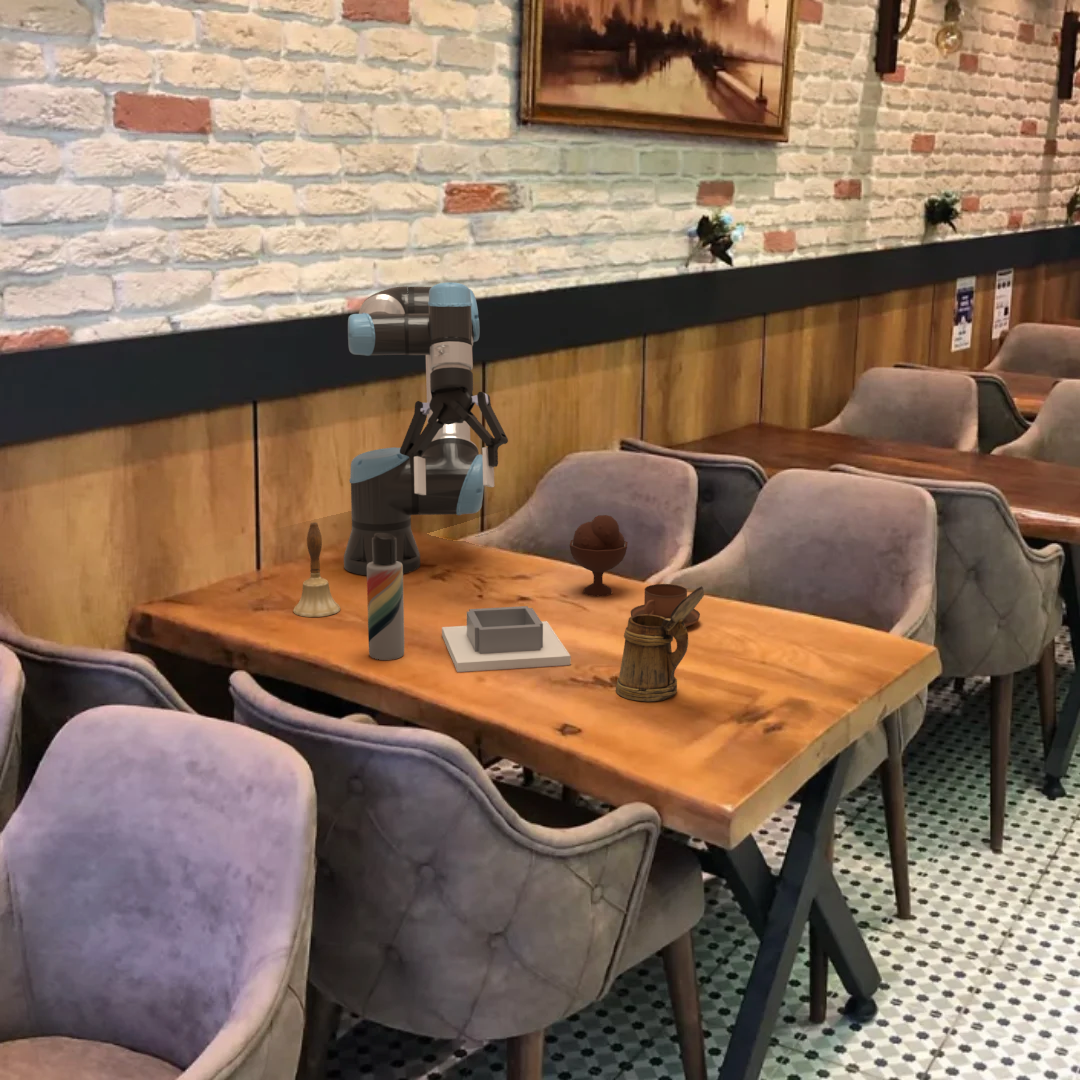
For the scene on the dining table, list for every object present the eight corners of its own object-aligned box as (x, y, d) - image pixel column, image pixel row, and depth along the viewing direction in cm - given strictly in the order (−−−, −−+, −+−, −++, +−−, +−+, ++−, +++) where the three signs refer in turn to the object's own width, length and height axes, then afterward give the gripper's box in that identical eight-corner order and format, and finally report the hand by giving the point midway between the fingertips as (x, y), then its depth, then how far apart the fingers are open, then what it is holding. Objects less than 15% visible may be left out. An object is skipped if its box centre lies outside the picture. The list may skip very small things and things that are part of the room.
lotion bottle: (371, 648, 214) (368, 529, 209) (406, 649, 214) (404, 530, 209) (366, 660, 209) (363, 538, 204) (402, 661, 209) (399, 539, 204)
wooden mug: (681, 714, 188) (686, 593, 184) (604, 693, 196) (606, 576, 192) (713, 696, 195) (718, 579, 190) (637, 676, 203) (640, 564, 198)
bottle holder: (441, 635, 221) (441, 604, 220) (546, 629, 225) (547, 598, 223) (457, 672, 204) (457, 638, 203) (570, 664, 208) (570, 631, 206)
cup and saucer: (690, 638, 222) (691, 603, 220) (621, 629, 226) (622, 595, 224) (706, 617, 232) (707, 584, 231) (641, 610, 236) (642, 577, 235)
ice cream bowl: (627, 584, 251) (629, 508, 248) (625, 602, 241) (627, 522, 237) (571, 582, 252) (572, 506, 249) (567, 599, 242) (568, 520, 238)
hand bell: (286, 607, 236) (283, 521, 232) (330, 601, 240) (327, 516, 236) (302, 620, 229) (299, 531, 225) (347, 613, 233) (344, 525, 229)
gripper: (379, 376, 233) (381, 494, 231) (504, 355, 223) (508, 479, 220) (401, 385, 240) (403, 500, 237) (524, 365, 230) (528, 485, 227)
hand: (454, 490), depth 229 cm, fingers open, 13 cm apart
